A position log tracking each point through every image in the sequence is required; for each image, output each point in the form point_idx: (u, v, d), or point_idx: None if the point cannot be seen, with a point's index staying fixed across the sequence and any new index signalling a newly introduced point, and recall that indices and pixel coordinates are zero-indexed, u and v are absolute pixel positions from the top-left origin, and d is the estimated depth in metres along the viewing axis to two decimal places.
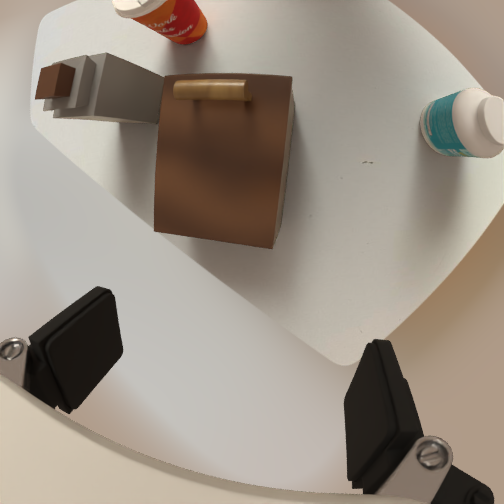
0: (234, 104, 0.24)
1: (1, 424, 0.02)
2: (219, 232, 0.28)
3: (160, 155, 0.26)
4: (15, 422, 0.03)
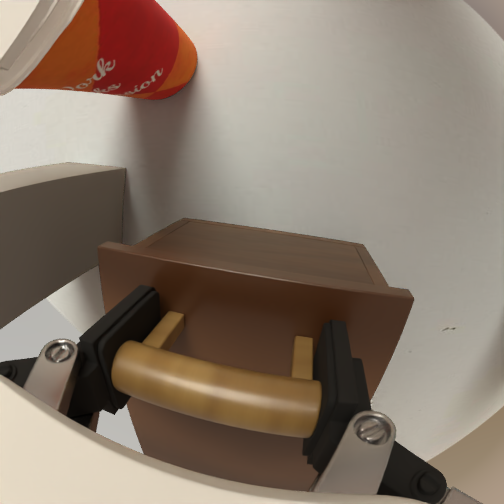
0: (269, 352, 0.11)
1: (1, 424, 0.02)
2: (239, 478, 0.15)
3: None
4: (15, 422, 0.03)
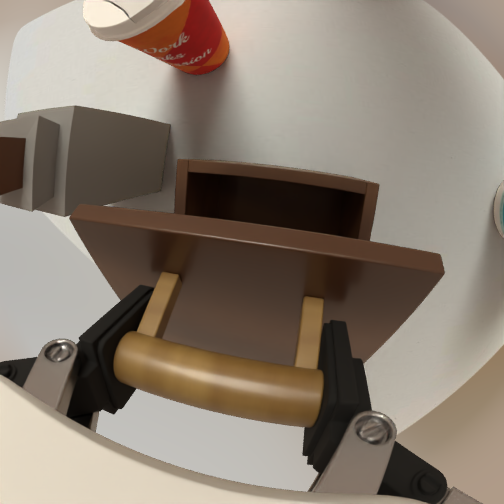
0: (276, 306, 0.10)
1: (1, 424, 0.02)
2: None
3: None
4: (15, 422, 0.03)
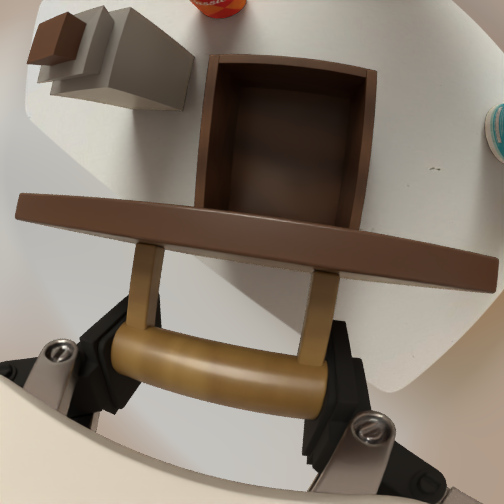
0: (282, 265, 0.08)
1: (1, 424, 0.02)
2: None
3: None
4: (15, 422, 0.03)
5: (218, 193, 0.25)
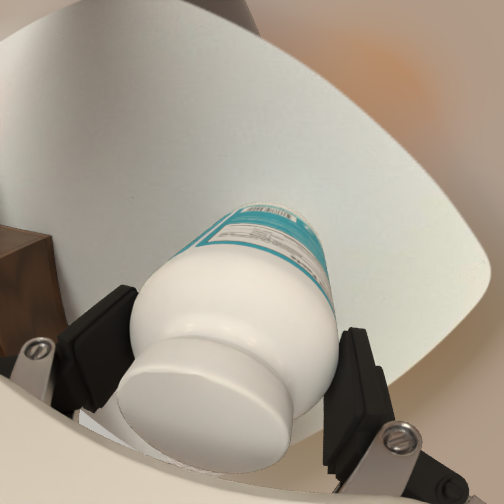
0: None
1: (1, 424, 0.02)
2: None
3: None
4: (15, 422, 0.03)
5: None
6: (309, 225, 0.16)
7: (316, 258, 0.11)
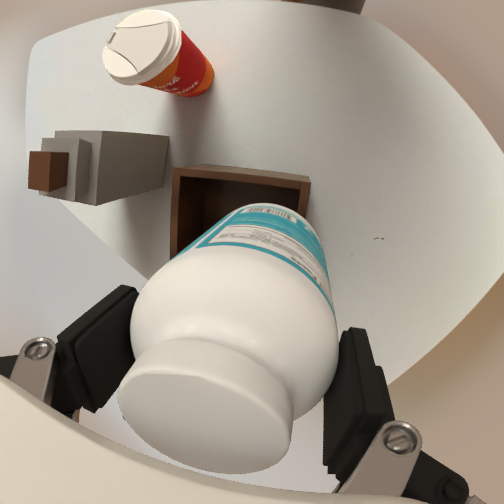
0: None
1: (1, 424, 0.02)
2: None
3: None
4: (15, 422, 0.03)
5: None
6: (309, 226, 0.16)
7: (316, 259, 0.11)
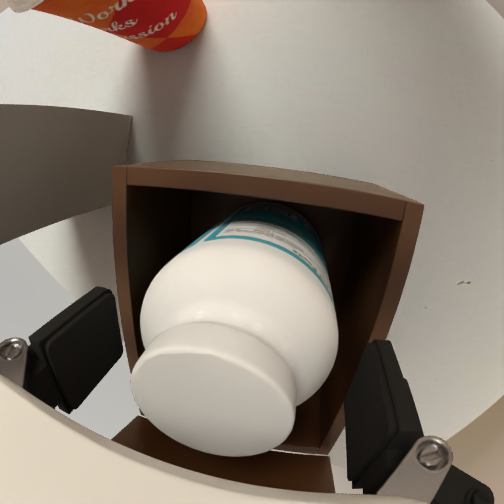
0: None
1: (1, 424, 0.02)
2: None
3: None
4: (15, 422, 0.03)
5: None
6: (309, 223, 0.17)
7: (316, 253, 0.12)
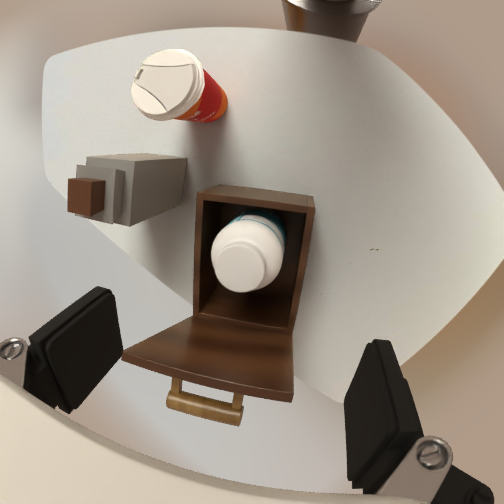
0: None
1: (1, 424, 0.02)
2: None
3: None
4: (15, 422, 0.03)
5: (209, 277, 0.38)
6: (278, 216, 0.36)
7: (277, 227, 0.32)
